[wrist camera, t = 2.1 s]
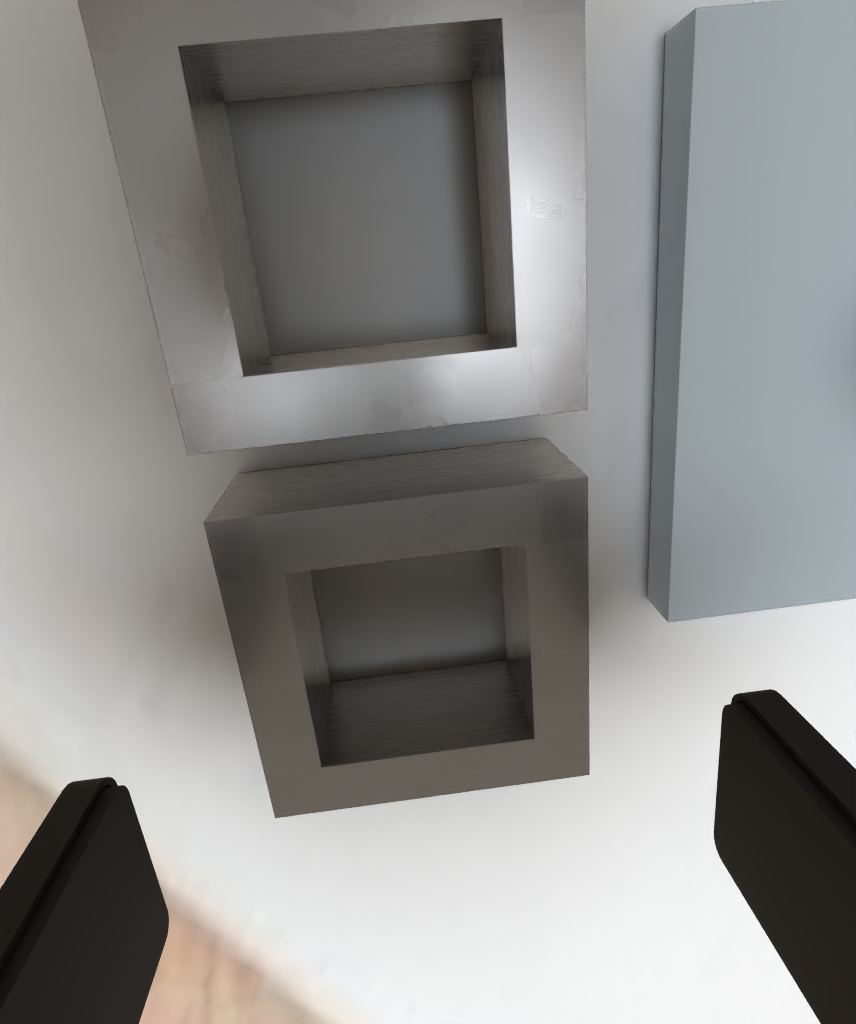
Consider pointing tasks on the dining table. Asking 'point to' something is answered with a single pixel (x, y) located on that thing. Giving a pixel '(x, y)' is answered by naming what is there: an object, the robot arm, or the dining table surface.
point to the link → (224, 231)
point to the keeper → (756, 312)
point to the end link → (422, 694)
